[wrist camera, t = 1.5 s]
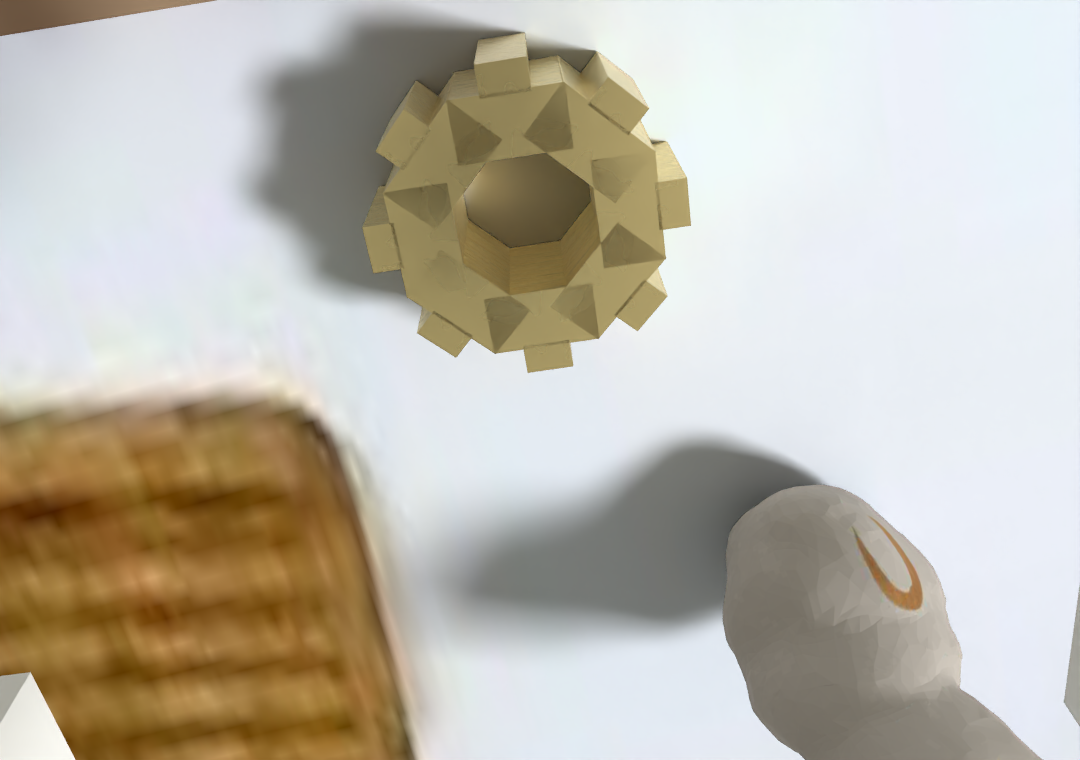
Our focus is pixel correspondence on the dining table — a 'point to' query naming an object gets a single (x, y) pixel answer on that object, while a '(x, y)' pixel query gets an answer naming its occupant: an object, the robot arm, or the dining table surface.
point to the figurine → (849, 636)
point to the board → (72, 12)
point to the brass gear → (541, 269)
